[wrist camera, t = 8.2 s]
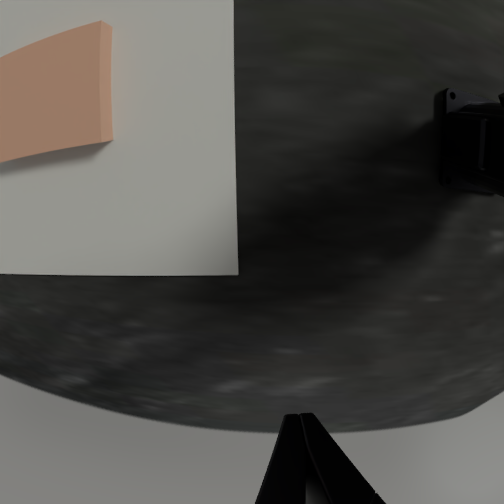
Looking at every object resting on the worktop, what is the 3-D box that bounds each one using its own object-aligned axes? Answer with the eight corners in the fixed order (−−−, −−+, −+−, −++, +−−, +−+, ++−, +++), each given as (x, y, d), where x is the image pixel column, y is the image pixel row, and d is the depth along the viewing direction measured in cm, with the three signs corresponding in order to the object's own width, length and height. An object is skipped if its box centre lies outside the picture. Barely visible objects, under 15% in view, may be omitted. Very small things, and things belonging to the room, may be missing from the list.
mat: (234, -87, 10) (233, -91, 10) (238, 271, 20) (238, 274, 19) (-17, -9, 10) (-20, -10, 10) (-4, 271, 20) (-7, 273, 19)
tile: (101, 20, 12) (-4, 59, 12) (101, 142, 15) (-2, 163, 14) (112, 27, 13) (11, 60, 13) (113, 140, 16) (13, 158, 16)
